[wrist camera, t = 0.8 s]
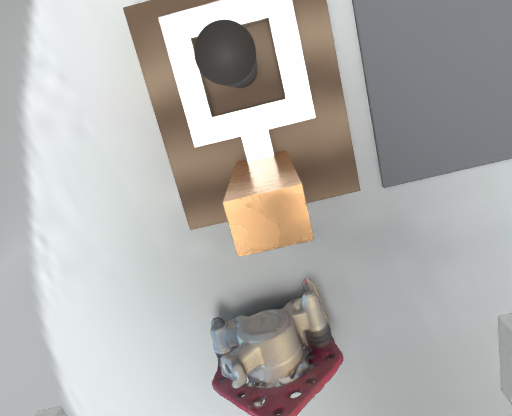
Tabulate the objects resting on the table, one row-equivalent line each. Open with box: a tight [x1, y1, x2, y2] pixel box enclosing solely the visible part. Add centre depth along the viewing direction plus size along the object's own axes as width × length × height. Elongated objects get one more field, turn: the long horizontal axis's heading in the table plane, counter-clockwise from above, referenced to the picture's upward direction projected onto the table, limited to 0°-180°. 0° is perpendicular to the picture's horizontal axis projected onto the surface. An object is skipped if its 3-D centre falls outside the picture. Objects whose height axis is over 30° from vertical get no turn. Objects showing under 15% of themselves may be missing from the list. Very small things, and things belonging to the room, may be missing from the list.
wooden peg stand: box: [123, 0, 360, 230], centre depth 25 cm, size 17×14×17 cm
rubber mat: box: [352, 0, 512, 188], centre depth 33 cm, size 16×15×1 cm
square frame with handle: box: [158, 0, 315, 257], centre depth 25 cm, size 14×9×12 cm, turn 14°
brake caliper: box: [211, 278, 343, 416], centre depth 36 cm, size 11×11×12 cm
